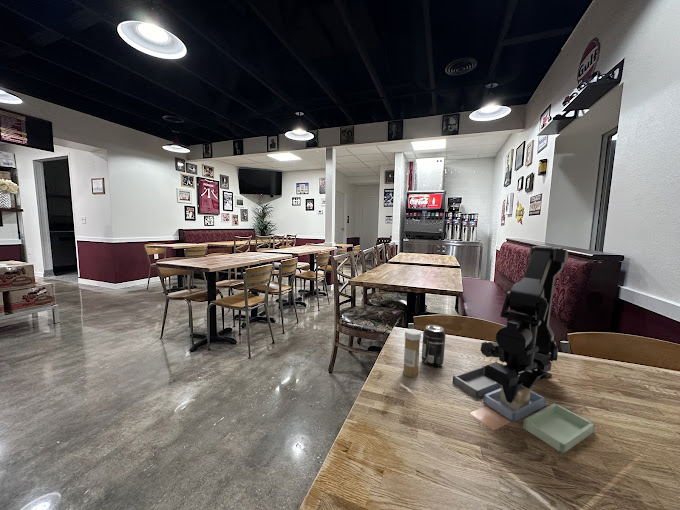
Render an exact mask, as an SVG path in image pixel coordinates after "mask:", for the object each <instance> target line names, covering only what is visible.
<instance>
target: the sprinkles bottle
mask: <svg viewBox="0 0 680 510" xmlns="http://www.w3.org/2000/svg"><path fill="white" fill-rule="evenodd" d="M421 337H422V333H421V331H420V330H419V329H415V328H408V329H405V332H404V338H405V340H404V348H403V349H404V350H403V351H404V352H403V354H404V355H403V370H402V372H403V374H404V376H406V377H409V378H414V377H417V376H419V364H420V340H421Z"/></svg>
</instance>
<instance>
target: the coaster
mask: <svg viewBox="0 0 680 510" xmlns="http://www.w3.org/2000/svg"><path fill="white" fill-rule="evenodd" d="M469 414H470V415H471V416H472V417H474V418H475V419H477V420H478V421H479V422H481V423H482V424H483V425H484V426H486V427H488V428H489V429H490V430H492V431H493V432H494V431H496V430H498V429H500V428H502V427H503V426H505V425H509V424H510V423H511V422H510V420H507V419H506V418H505V417H503V416H501V415H500V413H498V412H497V411H496V412H495V410H494V409H493V410H492V408H489V407H488V406H485V405H484V406H482V407H481V408H478V409H476V410H473V411H471V412H469Z"/></svg>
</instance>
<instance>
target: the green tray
mask: <svg viewBox="0 0 680 510" xmlns="http://www.w3.org/2000/svg"><path fill="white" fill-rule="evenodd" d="M595 427H596V423H594V422H592V421H590V420H588V419H587V418H584V417H583V416H580V415H579V414H577V413H575V412H573V411H571V410H569V409H568V408H565V407H564V406H561V405H560V404H557V403H552V404H551V405H548V406H547V407H544V408H543V409H541V410H539V411H536V412H535V413H533V414H532V415H531V414H530V415H528V417H525V418H524V419H523V422H522V429H524V430H525V431H527V432H528V433H530V434H531V435H533V436H534V437H536V438H538V439H539V440H540V441H543V442H544V443H545V444H547V445H549V446H550V447H552V448H553V449H555V450H556V451H558V452H559V453H561V454H562V455H563V454H565V453H566V452H568V451H569V450H571V449H572V448H573V447H575V446H577V444H579V443H581V442H582V441H584V440H586V438H588V437H590V436H591V435H592V434H594V432H595Z"/></svg>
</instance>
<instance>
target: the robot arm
mask: <svg viewBox="0 0 680 510" xmlns="http://www.w3.org/2000/svg"><path fill="white" fill-rule="evenodd" d="M568 259H569V251H568V250H567V249H564V247H563V246H551V245H535V246H531V247H530V249H529V255H528V264H527V267H526V269H525V272H524V275H522V276H523V277H522V279H521V280H519V281H518V282H515V283H514V284H513V285H512V287H511V289H510V291H507V293H506V296H505V300H504V302H503V305H502V309H501V312H500V318H504V319H506V320H507V321H506V324H505V325H503V326H502V327H501V328H499V330H498V331H497V333H496V334H495V340H496V341H489V342H488V341H484V342H481V346H480V352H481V354H482V355H483V356H485V357H486V358H490V357H491V358H498V361H500V362H502V363H505V365H504V364H501V363H499V362H498V361H496V362H492V363H489V364H486V365H483V366H484V373H483V374H484V376H486V377H488V378H490V379H492V380H493V381H495V382H497V383H499V384H501V385H502V387H503V390H504V394H505V398H506V401H507V402H509V403H512V401H513V400H514V398H515V396H516V395H517V393H518V391H519V389H520V388H521V386H524V387H526V388H528V389H530V390H531V389H532V387H533V386H534V385H535V384H536V383H537V382H538V380H543V379H544V380H545V379H548V378H550V377H552V376H553V374H552V373H550V371H552V370H551V369H552V362H554V361H558V355H559V348H558V346H557V343H556V340H555V333H554V332H553V329H552V328H551V326H550V318H551V310H552V305H553V296H554V290H555V281H556V277H557V275H559V274H560V273H561V272H562V271H563V269H564V267H565V264H567V263H568ZM509 310H510V311H509ZM554 340H555V341H554Z"/></svg>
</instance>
